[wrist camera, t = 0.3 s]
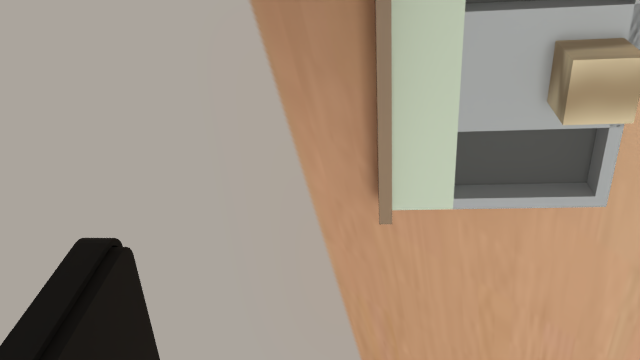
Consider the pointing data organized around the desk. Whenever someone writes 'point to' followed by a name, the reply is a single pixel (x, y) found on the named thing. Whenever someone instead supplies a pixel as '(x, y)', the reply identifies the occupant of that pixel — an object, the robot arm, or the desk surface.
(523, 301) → the desk surface
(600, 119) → the maple block
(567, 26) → the board
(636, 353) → the desk surface
